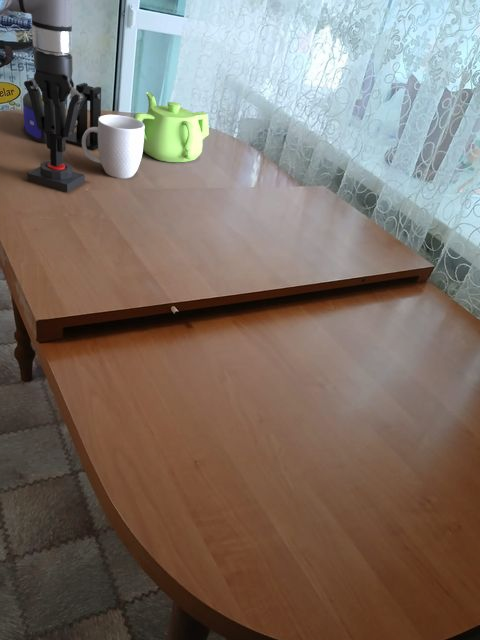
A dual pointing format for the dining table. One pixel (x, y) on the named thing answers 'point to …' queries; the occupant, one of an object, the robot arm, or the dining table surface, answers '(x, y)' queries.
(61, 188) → the button box
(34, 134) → the blue panel tablet
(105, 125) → the mug
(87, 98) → the lever
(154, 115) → the teapot
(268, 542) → the dining table surface
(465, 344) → the dining table surface
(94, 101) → the pendulum stand
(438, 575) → the dining table surface
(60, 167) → the button
